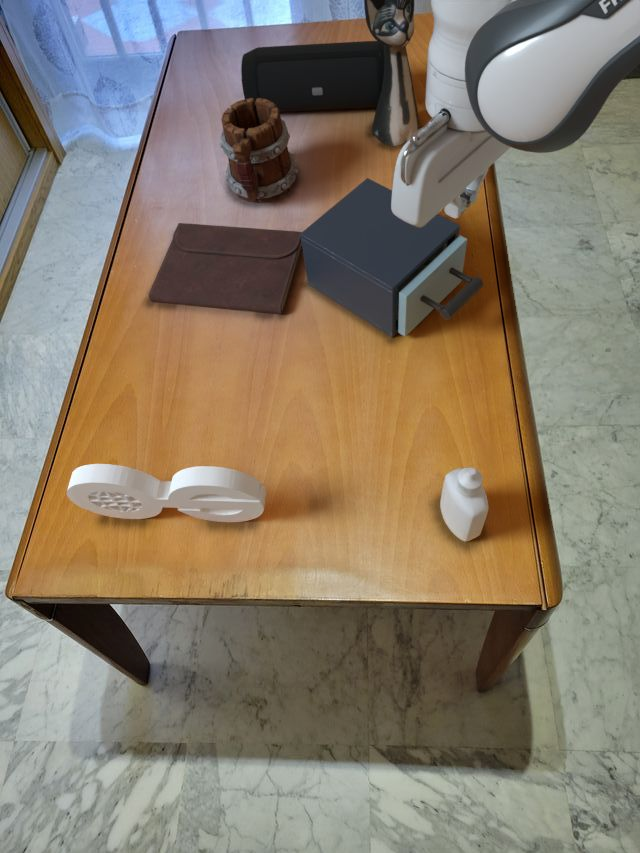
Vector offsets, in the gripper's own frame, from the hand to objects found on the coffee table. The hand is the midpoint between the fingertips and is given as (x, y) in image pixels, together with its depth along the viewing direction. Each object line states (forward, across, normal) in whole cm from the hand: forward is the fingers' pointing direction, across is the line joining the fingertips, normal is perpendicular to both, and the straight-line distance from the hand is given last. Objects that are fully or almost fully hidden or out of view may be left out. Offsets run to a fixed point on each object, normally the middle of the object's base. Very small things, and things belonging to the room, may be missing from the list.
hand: (460, 207), depth 69 cm
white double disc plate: (+19, -42, +7) cm, 47 cm away
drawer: (+18, 0, +7) cm, 20 cm away
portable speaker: (+19, +26, +47) cm, 57 cm away
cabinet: (+19, 0, +12) cm, 22 cm away
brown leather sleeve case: (+19, -12, +31) cm, 38 cm away
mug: (+19, +4, +40) cm, 44 cm away
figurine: (+19, +27, +32) cm, 46 cm away
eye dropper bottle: (+19, -22, -18) cm, 34 cm away
